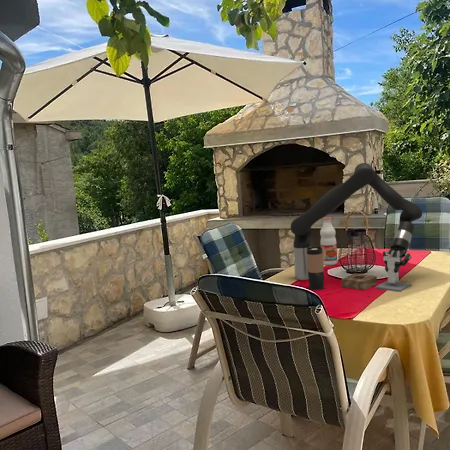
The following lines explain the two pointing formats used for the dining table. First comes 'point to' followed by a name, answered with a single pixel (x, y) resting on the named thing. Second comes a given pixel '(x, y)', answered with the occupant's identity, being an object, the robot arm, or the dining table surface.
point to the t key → (392, 268)
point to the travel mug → (315, 268)
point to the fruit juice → (328, 242)
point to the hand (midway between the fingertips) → (390, 271)
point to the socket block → (359, 281)
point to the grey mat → (393, 286)
